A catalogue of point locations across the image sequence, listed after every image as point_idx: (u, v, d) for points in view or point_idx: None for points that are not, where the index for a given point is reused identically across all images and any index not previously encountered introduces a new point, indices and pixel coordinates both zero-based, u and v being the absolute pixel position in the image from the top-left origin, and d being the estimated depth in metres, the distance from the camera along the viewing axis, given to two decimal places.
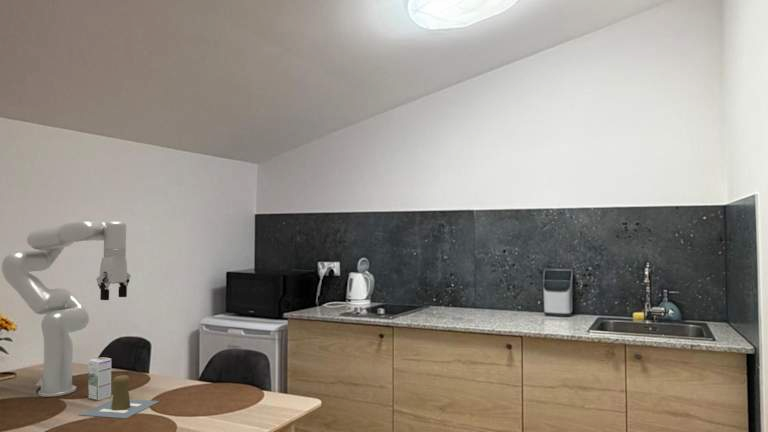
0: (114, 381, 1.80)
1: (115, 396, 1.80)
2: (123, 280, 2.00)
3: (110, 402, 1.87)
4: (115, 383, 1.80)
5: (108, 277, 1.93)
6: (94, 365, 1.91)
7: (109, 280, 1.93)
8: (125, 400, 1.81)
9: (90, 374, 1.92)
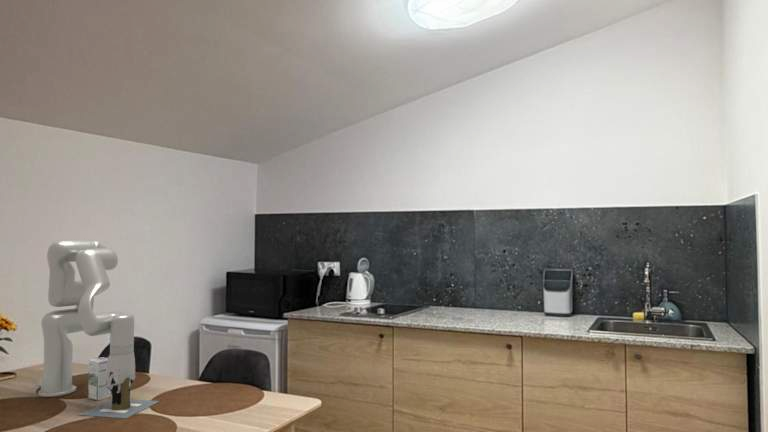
0: None
1: None
2: (131, 377, 1.84)
3: (110, 402, 1.87)
4: None
5: None
6: (94, 365, 1.91)
7: (116, 381, 1.77)
8: (126, 400, 1.81)
9: (90, 374, 1.92)
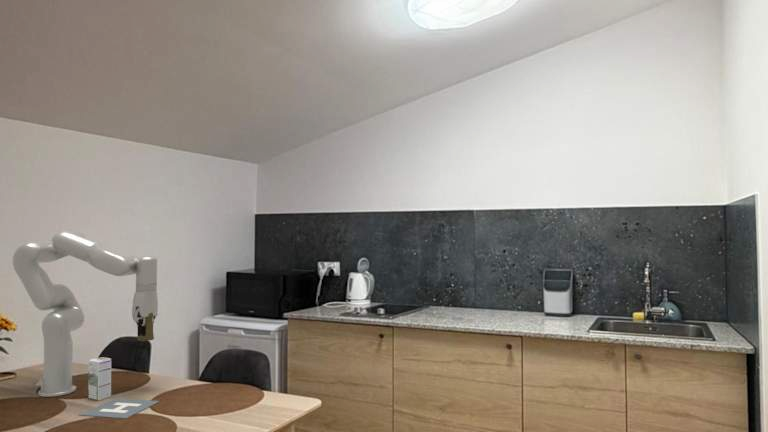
0: None
1: None
2: (154, 313, 2.06)
3: (110, 402, 1.87)
4: None
5: None
6: (94, 365, 1.91)
7: (141, 315, 1.98)
8: (150, 332, 2.02)
9: (90, 374, 1.92)
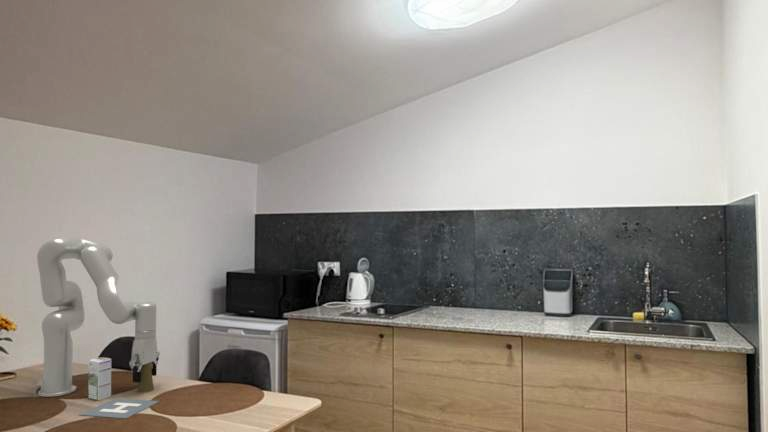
0: None
1: (141, 380, 2.01)
2: (153, 359, 2.05)
3: (110, 402, 1.87)
4: (141, 368, 2.01)
5: (140, 360, 1.98)
6: (94, 365, 1.91)
7: (141, 362, 1.98)
8: (150, 383, 2.02)
9: (90, 374, 1.92)
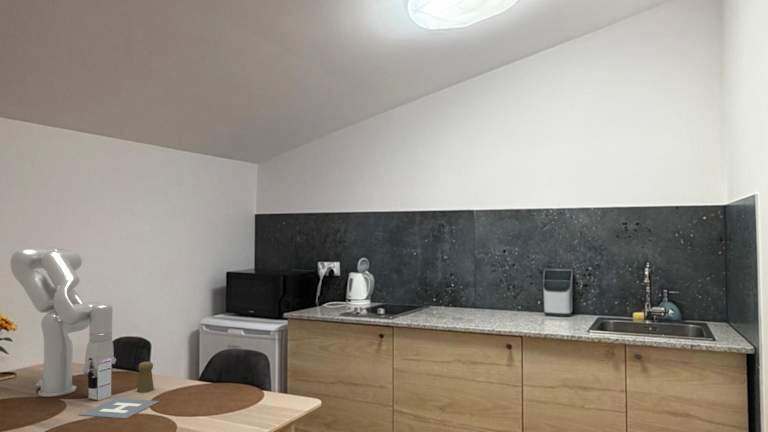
0: (140, 366, 2.01)
1: (141, 380, 2.01)
2: None
3: (110, 402, 1.87)
4: (141, 368, 2.01)
5: (94, 366, 1.89)
6: None
7: (95, 367, 1.89)
8: (150, 383, 2.02)
9: None
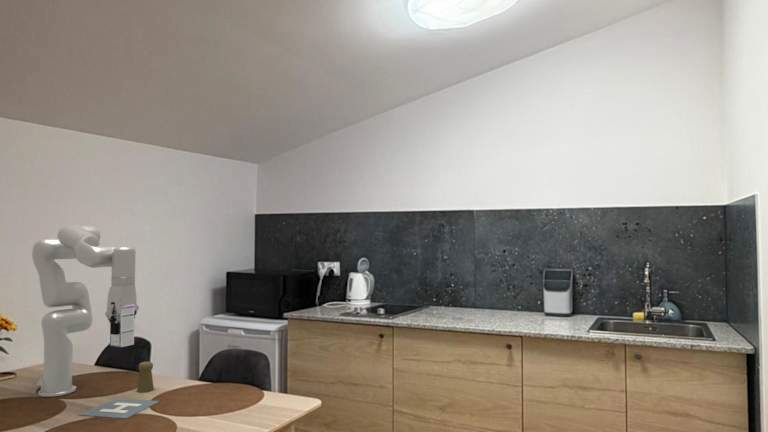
0: (140, 366, 2.01)
1: (141, 380, 2.01)
2: None
3: (110, 402, 1.87)
4: (141, 368, 2.01)
5: (117, 310, 1.78)
6: None
7: (117, 311, 1.78)
8: (150, 383, 2.02)
9: None
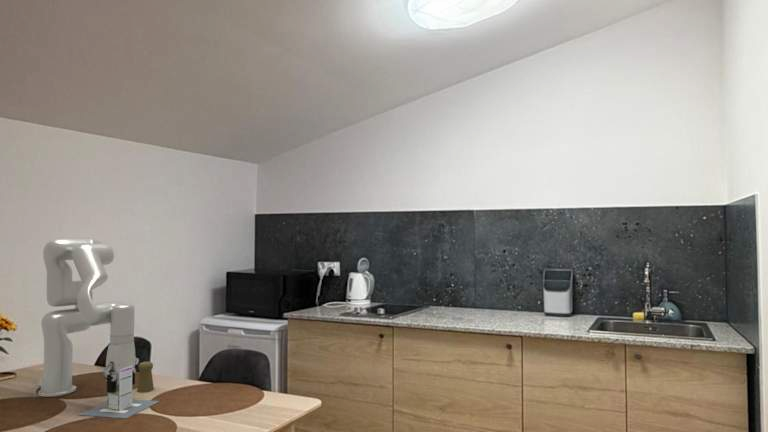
0: (140, 366, 2.01)
1: (141, 380, 2.01)
2: None
3: None
4: (141, 368, 2.01)
5: (115, 368, 1.77)
6: None
7: (116, 371, 1.77)
8: (150, 383, 2.02)
9: None
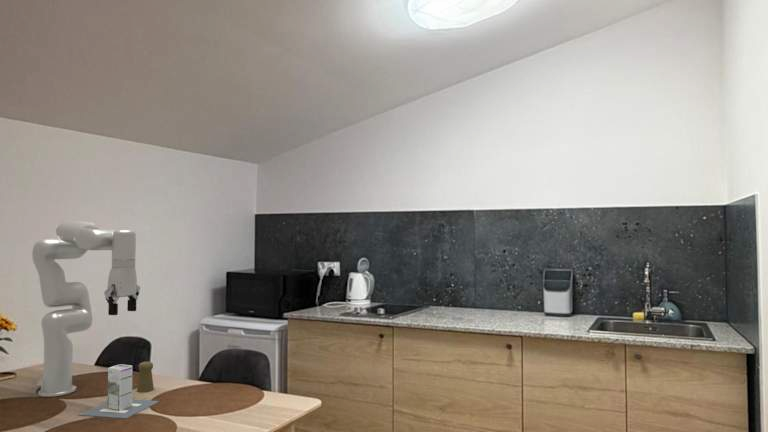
0: (140, 366, 2.01)
1: (141, 380, 2.01)
2: (132, 293, 1.85)
3: None
4: (141, 368, 2.01)
5: (117, 290, 1.78)
6: (115, 373, 1.79)
7: (118, 293, 1.78)
8: (150, 383, 2.02)
9: (110, 382, 1.80)
